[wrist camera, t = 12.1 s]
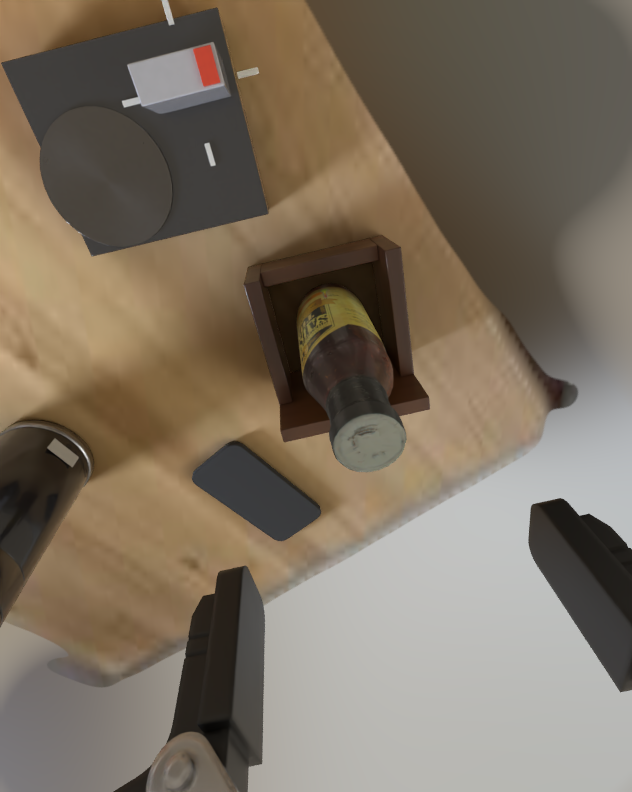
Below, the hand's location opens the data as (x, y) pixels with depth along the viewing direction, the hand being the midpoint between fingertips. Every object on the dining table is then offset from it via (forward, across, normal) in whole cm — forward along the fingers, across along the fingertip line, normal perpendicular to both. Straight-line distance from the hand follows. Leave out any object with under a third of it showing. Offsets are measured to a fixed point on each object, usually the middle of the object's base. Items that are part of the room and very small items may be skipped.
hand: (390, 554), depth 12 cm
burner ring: (+27, +12, -11) cm, 31 cm away
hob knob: (+27, +5, -15) cm, 31 cm away
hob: (+30, +9, -13) cm, 33 cm away
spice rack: (+30, -1, +3) cm, 30 cm away
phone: (+30, +11, +22) cm, 39 cm away
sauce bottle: (+30, -1, +3) cm, 30 cm away
